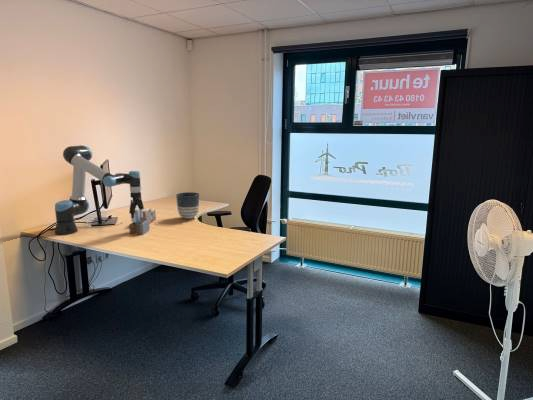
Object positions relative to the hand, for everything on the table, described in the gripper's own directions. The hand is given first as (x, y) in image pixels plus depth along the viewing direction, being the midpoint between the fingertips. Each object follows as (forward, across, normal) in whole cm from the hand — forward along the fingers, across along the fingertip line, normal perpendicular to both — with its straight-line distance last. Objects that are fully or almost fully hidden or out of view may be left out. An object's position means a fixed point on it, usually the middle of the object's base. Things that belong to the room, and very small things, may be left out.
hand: (137, 219), depth 280 cm
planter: (+10, +47, -26) cm, 54 cm away
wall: (+10, 0, -6) cm, 11 cm away
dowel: (+7, 0, 0) cm, 7 cm away
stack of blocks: (+10, +28, +4) cm, 30 cm away
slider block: (+10, 0, 0) cm, 10 cm away
